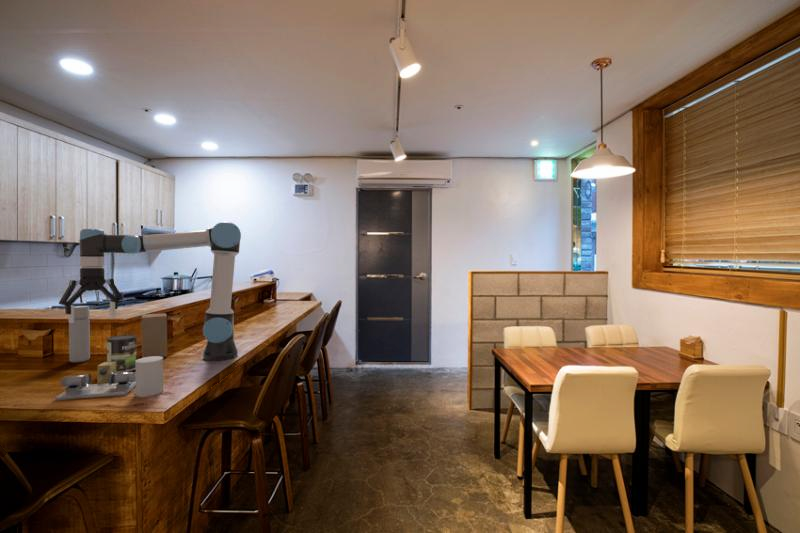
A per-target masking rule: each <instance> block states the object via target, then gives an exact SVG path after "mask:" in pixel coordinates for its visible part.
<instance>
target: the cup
mask: <svg viewBox="0 0 800 533" xmlns="http://www.w3.org/2000/svg"><path fill="white" fill-rule="evenodd" d="M135 374H136V378H135V381H136V387H135V396H136V397H140V398H147V397H152V396H157V395H159V394H161V393H163V391H164V357H161V356H151V357H144V358H142V357H141V358H137V360H136V369H135Z"/></svg>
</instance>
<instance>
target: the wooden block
mask: <svg viewBox="0 0 800 533" xmlns="http://www.w3.org/2000/svg"><path fill="white" fill-rule="evenodd" d="M151 356H161V357H163V358H165V357H166V358H167V357H168V316H167V314H166V312H165V313H164V312H163V313H151V314H149V313H147V314H142V315H141V358H144V357H151Z"/></svg>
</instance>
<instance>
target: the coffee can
mask: <svg viewBox="0 0 800 533" xmlns="http://www.w3.org/2000/svg"><path fill="white" fill-rule="evenodd" d="M137 338H138V336H137V335H136V334H120V335H115V336H110V337H106V362H115V361H116V373H127V372H133V371H134V370H135V371H136V360H137V359H138V358H137V357H138V355H137V346H138V345H137V343H138V342H137V341H138V340H137Z"/></svg>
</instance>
